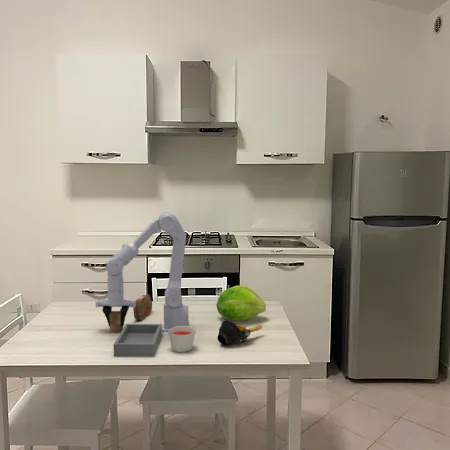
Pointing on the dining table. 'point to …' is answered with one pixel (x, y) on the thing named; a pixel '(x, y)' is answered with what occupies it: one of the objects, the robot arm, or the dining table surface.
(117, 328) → the block
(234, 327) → the fried shrimp in bowl
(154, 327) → the bin
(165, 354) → the dining table surface
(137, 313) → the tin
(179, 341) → the candle
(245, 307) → the green papaya
